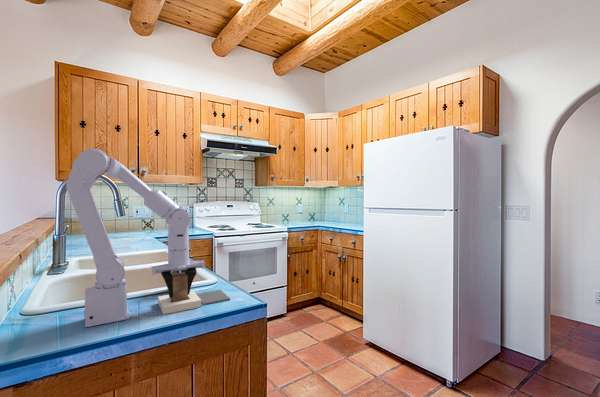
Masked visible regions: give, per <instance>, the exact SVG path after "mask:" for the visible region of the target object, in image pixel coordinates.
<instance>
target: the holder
mask: <svg viewBox="0 0 600 397" xmlns="http://www.w3.org/2000/svg"><path fill="white" fill-rule="evenodd" d="M197 294H198V293H196V292H195V291H194V290H190V293H189V295H188V300H183V301H177V302H172V303H171V298H170V297H169V294H165V295H159V296H157V303H158V306H159V308H160V311H161V313H162V315H167V314H173V313H178V312H182V311H187V310H193V309H198V308H202V303H201V299H200V298H199V297H198V296H197Z"/></svg>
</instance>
